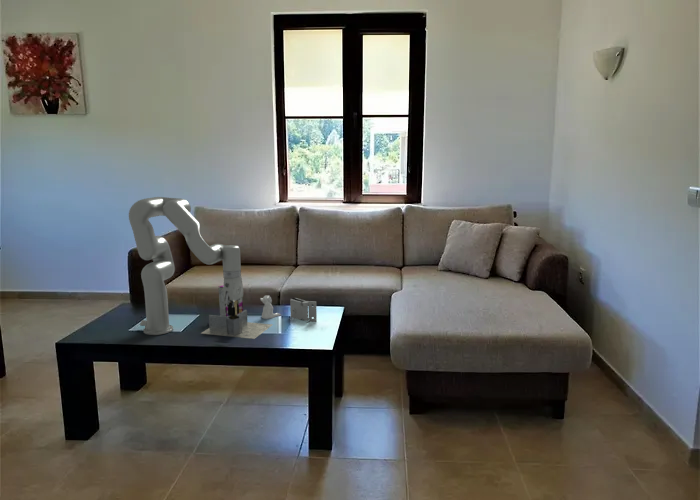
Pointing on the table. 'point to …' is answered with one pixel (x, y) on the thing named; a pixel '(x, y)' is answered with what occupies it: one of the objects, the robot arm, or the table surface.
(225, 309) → the candy bar box
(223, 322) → the grey walled base plate
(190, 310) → the table surface
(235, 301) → the pin
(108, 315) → the table surface
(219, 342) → the table surface
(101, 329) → the table surface
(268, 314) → the seated beast figurine
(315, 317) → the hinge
